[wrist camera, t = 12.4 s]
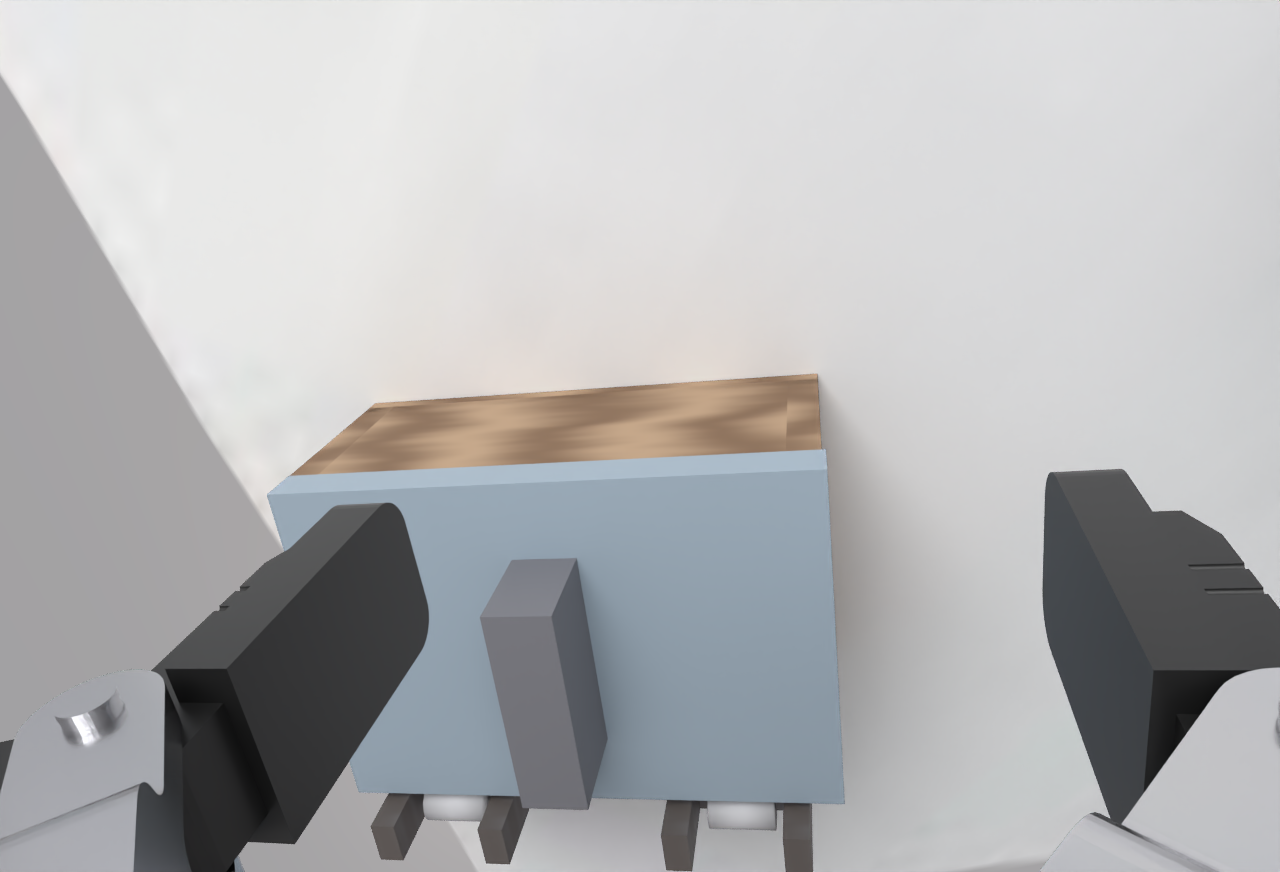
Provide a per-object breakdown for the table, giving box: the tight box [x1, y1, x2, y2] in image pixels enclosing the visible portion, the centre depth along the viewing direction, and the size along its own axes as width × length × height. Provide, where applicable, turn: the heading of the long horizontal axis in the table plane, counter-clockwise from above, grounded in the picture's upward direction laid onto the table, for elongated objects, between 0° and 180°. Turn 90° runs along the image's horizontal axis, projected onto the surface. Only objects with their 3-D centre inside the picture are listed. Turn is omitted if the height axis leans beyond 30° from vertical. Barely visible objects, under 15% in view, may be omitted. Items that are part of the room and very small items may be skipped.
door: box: [267, 449, 845, 830], centre depth 33 cm, size 20×16×5 cm
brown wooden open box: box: [290, 374, 821, 872], centre depth 38 cm, size 20×16×11 cm
